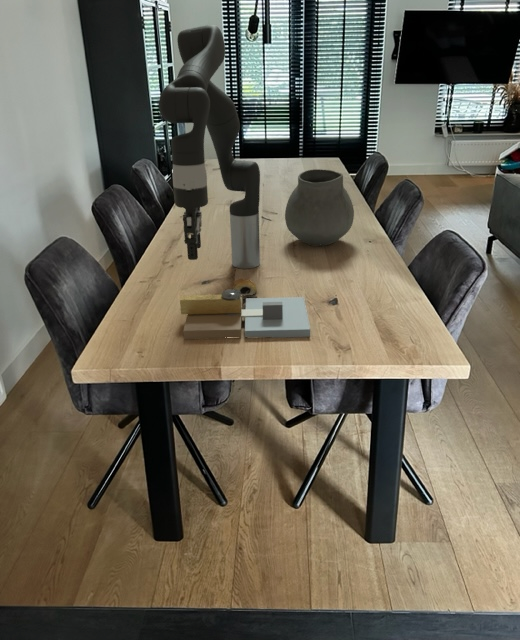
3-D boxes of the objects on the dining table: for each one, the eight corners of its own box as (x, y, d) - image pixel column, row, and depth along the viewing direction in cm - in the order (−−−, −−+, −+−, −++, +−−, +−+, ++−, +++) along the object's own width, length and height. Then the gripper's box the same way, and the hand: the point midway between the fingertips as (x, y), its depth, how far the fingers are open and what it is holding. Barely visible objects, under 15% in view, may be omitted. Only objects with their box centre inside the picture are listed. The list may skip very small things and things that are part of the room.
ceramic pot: (273, 248, 202) (272, 177, 192) (301, 229, 222) (301, 164, 211) (338, 257, 192) (341, 182, 181) (361, 237, 211) (365, 169, 200)
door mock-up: (192, 306, 158) (190, 286, 155) (303, 303, 158) (304, 283, 155) (184, 339, 140) (182, 317, 137) (310, 336, 140) (310, 314, 137)
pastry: (232, 285, 172) (231, 273, 170) (254, 284, 172) (254, 272, 171) (234, 298, 163) (233, 285, 162) (257, 296, 164) (257, 284, 162)
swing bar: (241, 306, 150) (241, 289, 148) (241, 314, 146) (240, 296, 143) (182, 307, 150) (181, 290, 148) (180, 316, 146) (179, 298, 143)
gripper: (177, 178, 133) (182, 244, 140) (169, 191, 121) (175, 263, 127) (209, 177, 134) (212, 244, 140) (204, 190, 121) (208, 263, 127)
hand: (194, 253), depth 134 cm, fingers open, 8 cm apart
